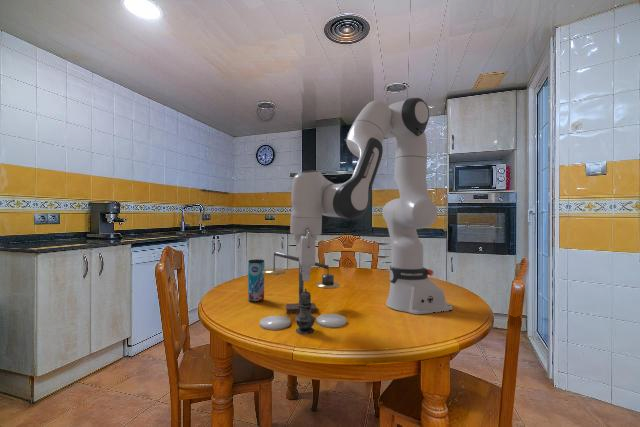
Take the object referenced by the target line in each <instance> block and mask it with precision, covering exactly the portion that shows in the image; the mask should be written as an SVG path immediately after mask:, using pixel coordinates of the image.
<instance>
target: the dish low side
mask: <svg viewBox="0 0 640 427" xmlns="http://www.w3.org/2000/svg"><path fill="white" fill-rule="evenodd" d="M316 324H317V325H319V326H320V327H323V328H340V327H341V328H342V327H344V326H346V324H347V317H345V316H344V315H341V314H336V313H324V314H320V315H319V316H317V317H316Z"/></svg>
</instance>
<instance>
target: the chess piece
mask: <svg viewBox="0 0 640 427" xmlns="http://www.w3.org/2000/svg"><path fill="white" fill-rule="evenodd" d="M304 288H305V287H304ZM311 297H312V296H311V293H310V292H309V291H308V290H307V288H305V289H304V292H302V293H301V295H300V304H299V306H300V313H298V315H296V316H295V318H294V320H295V323H296V325H297V327H298V328H296V330H295V332H296V333H297V334H299V335H306V336H307V335H312V334H313V333H315V328H313V326H314V324H315V323H316V321H317V317H315V315H312V313H311V306H312V304H311V303H312V301H311V300H312V299H311ZM315 320H316V321H315Z"/></svg>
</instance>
